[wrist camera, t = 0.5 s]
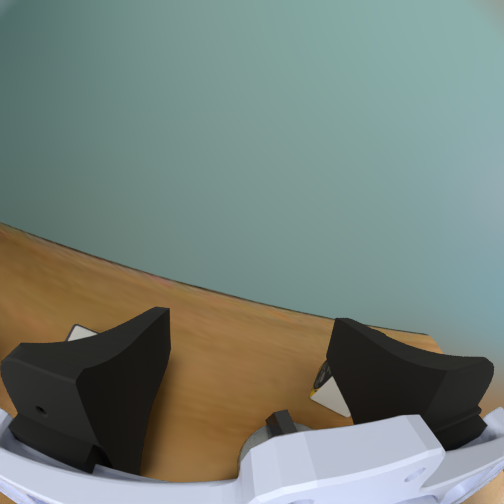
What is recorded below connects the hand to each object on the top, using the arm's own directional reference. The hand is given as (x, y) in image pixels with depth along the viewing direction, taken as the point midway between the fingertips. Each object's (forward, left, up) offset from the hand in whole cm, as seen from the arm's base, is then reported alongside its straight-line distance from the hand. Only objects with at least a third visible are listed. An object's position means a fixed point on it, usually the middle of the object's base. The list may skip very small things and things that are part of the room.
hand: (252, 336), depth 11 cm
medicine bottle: (+11, -23, -21) cm, 33 cm away
